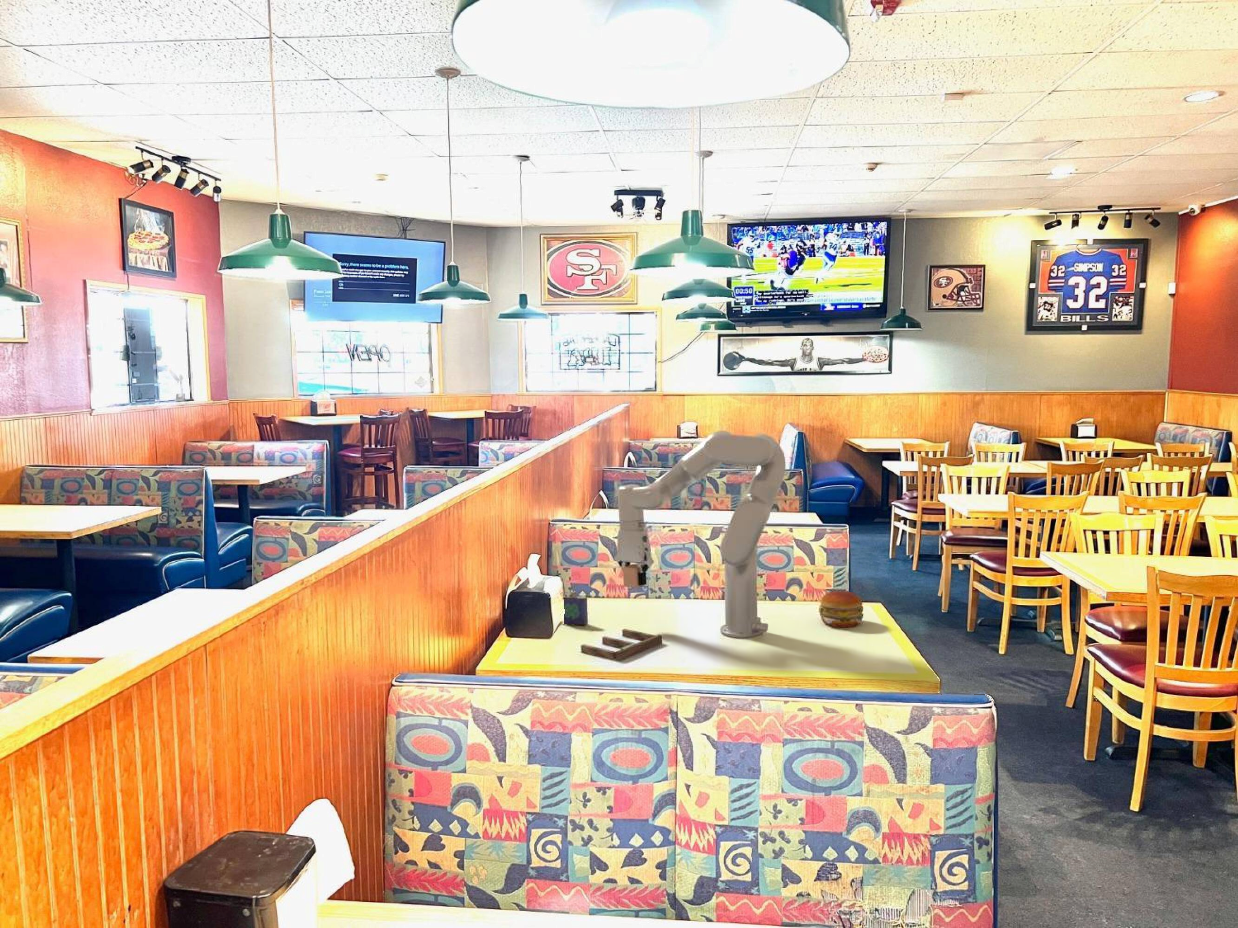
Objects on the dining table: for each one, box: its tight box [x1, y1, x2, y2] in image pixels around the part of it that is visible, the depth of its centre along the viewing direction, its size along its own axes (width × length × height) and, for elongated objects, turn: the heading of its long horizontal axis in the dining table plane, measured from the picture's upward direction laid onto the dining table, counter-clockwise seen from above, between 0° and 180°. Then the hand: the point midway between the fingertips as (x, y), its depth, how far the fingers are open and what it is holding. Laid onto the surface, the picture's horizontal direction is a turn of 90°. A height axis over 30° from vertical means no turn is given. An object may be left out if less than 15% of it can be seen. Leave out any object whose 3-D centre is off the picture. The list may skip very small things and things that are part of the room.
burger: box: [818, 590, 864, 628], centre depth 271 cm, size 13×14×10 cm
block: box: [622, 563, 647, 589], centre depth 272 cm, size 5×5×6 cm
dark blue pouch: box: [563, 590, 589, 627], centre depth 279 cm, size 9×3×11 cm, turn 68°
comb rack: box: [580, 628, 663, 662], centre depth 254 cm, size 14×20×3 cm
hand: (635, 583), depth 272 cm, fingers closed on block, 5 cm apart
